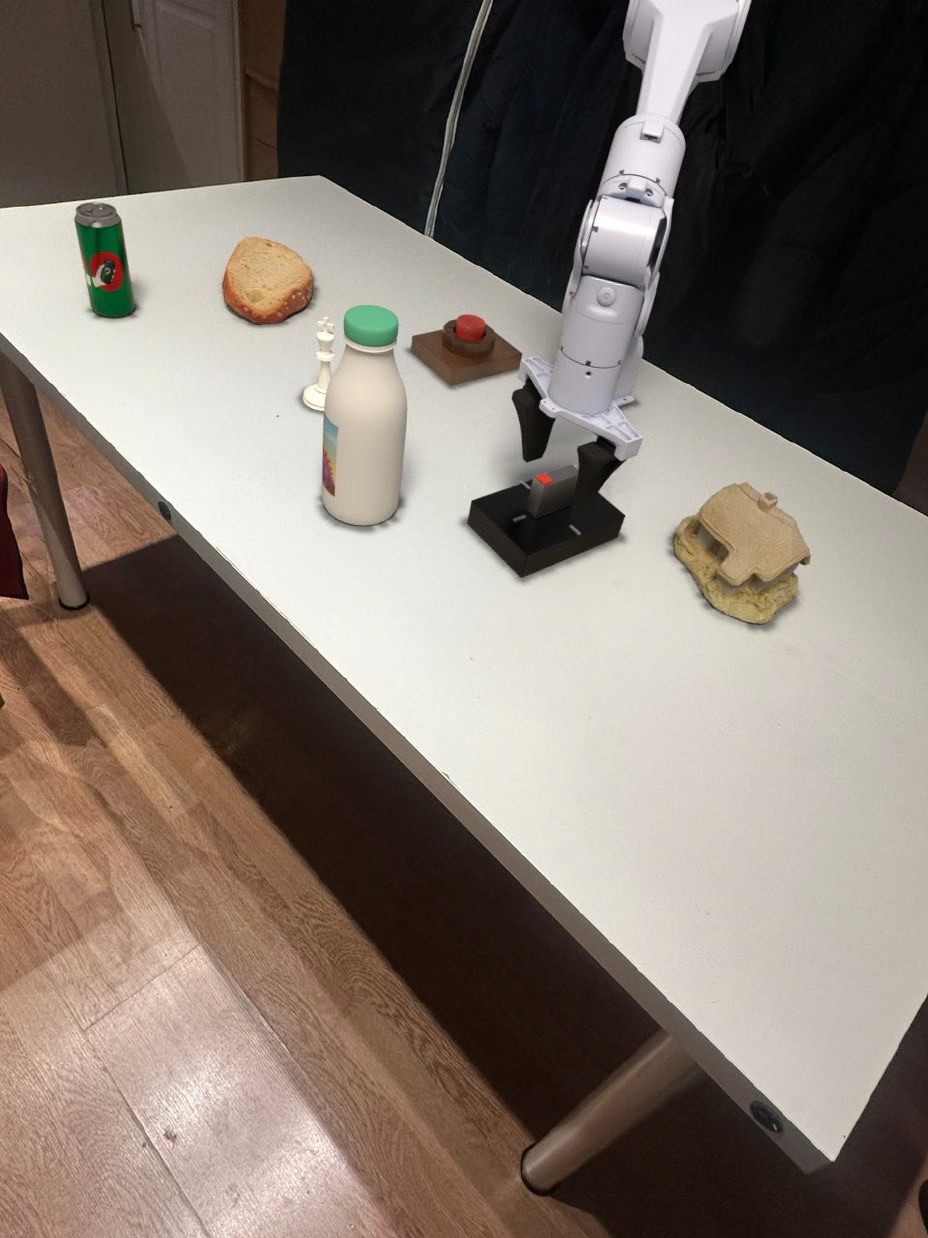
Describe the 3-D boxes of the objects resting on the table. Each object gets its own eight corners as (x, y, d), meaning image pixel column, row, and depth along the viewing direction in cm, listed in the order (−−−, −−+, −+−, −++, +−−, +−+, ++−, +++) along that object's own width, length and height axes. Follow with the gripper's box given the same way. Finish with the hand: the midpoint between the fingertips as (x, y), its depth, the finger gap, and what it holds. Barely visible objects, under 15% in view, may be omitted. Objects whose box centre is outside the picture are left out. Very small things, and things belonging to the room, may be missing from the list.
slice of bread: (262, 245, 120) (261, 219, 118) (355, 291, 115) (356, 264, 112) (163, 279, 109) (160, 251, 107) (261, 331, 103) (260, 303, 101)
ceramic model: (817, 601, 82) (866, 524, 75) (740, 636, 77) (785, 557, 70) (720, 517, 90) (756, 440, 83) (644, 544, 85) (676, 464, 78)
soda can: (144, 310, 103) (129, 211, 95) (111, 323, 100) (93, 222, 91) (115, 296, 105) (98, 197, 96) (82, 308, 101) (62, 207, 93)
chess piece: (338, 415, 93) (341, 333, 86) (296, 405, 93) (296, 322, 86) (351, 393, 97) (355, 312, 89) (311, 384, 97) (311, 302, 90)
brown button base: (478, 336, 111) (483, 307, 108) (519, 368, 106) (525, 340, 103) (410, 351, 105) (413, 322, 102) (450, 386, 101) (454, 356, 98)
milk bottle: (409, 493, 85) (430, 310, 71) (380, 537, 80) (396, 348, 66) (341, 471, 86) (348, 285, 72) (308, 512, 81) (308, 321, 67)
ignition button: (472, 325, 105) (474, 312, 104) (489, 338, 103) (491, 325, 102) (449, 330, 103) (451, 316, 102) (466, 343, 101) (468, 330, 100)
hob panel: (561, 488, 90) (568, 464, 87) (618, 538, 85) (627, 514, 83) (466, 522, 83) (470, 498, 81) (522, 578, 79) (528, 554, 76)
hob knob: (562, 495, 84) (572, 461, 80) (573, 504, 83) (583, 470, 80) (525, 509, 81) (533, 475, 78) (535, 519, 80) (544, 484, 77)
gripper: (503, 319, 71) (479, 449, 81) (615, 404, 64) (575, 536, 74) (563, 306, 75) (534, 432, 85) (677, 386, 68) (630, 514, 77)
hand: (556, 480), depth 79 cm, fingers open, 7 cm apart
